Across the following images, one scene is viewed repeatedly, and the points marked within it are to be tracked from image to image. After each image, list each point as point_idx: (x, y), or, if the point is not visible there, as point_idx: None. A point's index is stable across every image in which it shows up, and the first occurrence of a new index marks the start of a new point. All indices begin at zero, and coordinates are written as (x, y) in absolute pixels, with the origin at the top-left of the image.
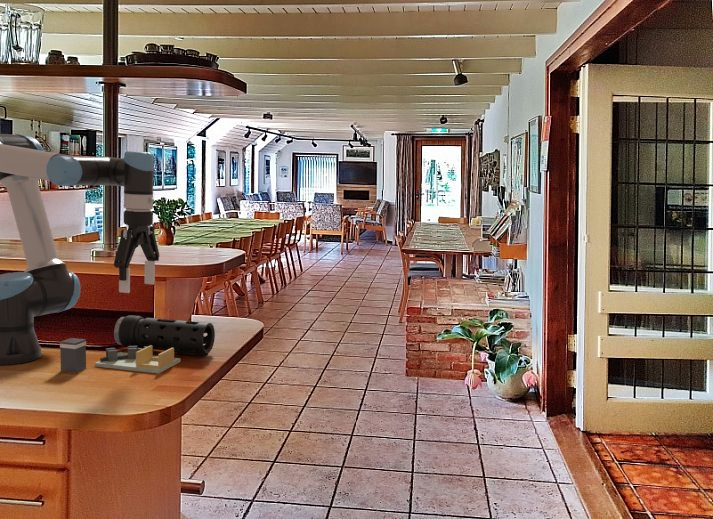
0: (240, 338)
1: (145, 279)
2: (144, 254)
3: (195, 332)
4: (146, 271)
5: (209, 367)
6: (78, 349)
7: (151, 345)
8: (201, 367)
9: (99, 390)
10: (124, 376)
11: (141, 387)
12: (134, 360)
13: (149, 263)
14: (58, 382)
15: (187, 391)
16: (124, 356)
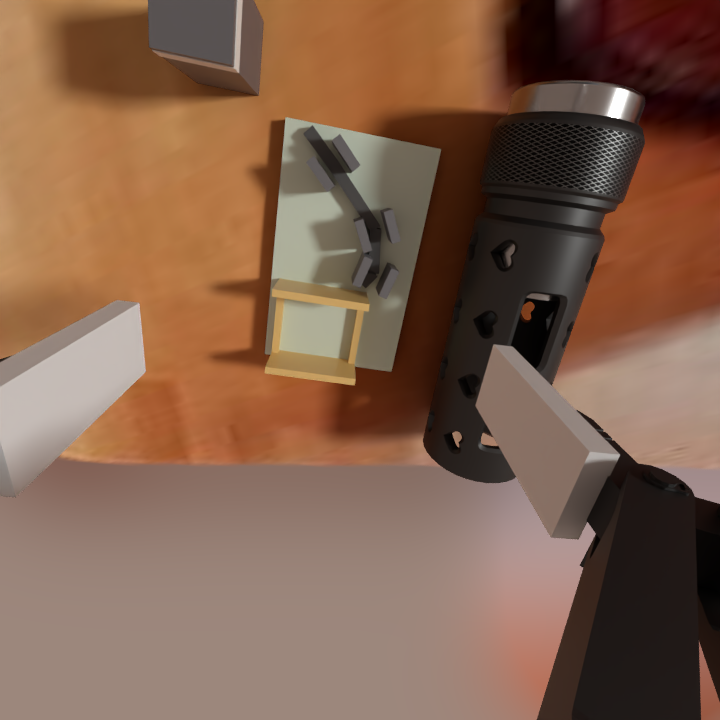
0: (654, 447)
1: (503, 365)
2: (616, 519)
3: (442, 440)
4: (527, 406)
5: (351, 448)
6: (185, 63)
7: (368, 308)
8: (348, 431)
9: (66, 250)
10: (213, 266)
11: None
12: (343, 247)
13: (554, 482)
14: (78, 72)
15: (151, 455)
16: (354, 207)
